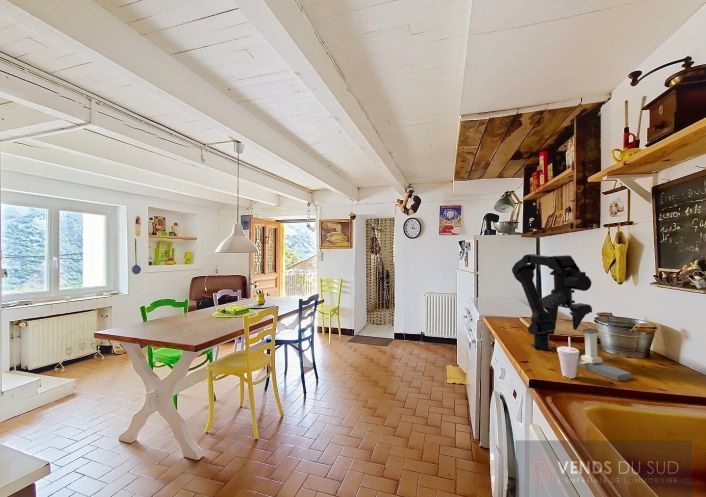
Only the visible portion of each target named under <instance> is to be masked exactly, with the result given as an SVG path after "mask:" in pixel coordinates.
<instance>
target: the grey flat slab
mask: <svg viewBox="0 0 706 497" xmlns="http://www.w3.org/2000/svg"><path fill="white" fill-rule="evenodd" d="M580 366H581V367H580ZM577 367H580V368H583V367H584V368H583V369H585V368H586V370H587V371H590V370H591V371H590V372H594V373H595V372H596V374H598V375H600V374H601V375H600V376H603V377H605V376H607V377H610V378H612V379H615V380H623V379H628V380H631V379H632V373H631V372H629V371H628V370H627V371H626V370H624V369H621V368H618V367H616V366H613V365H612V364H611V365H610V364H608V363H606V362H604V360H603V359H602V362H600V363H594V364H591V363H589V362H586V361H583V360H582V358H581V359H578V362H577ZM607 377H606V378H607ZM610 378H609V379H610ZM630 378H631V379H630ZM612 379H611V380H612ZM615 380H614V381H615ZM623 381H624V380H623Z"/></svg>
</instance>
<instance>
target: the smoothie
mask: <svg viewBox="0 0 706 497" xmlns="http://www.w3.org/2000/svg"><path fill="white" fill-rule="evenodd" d="M567 340H568V346H562V345H561V346H557V347H556V352H557V354H558V359H559V364H560V370H561V375H563V376H566V377H569V378H575V377H577V369H578V365H577V362H578V360H579V355H580V350H579V349H577V348H575V347H571V336H568V339H567ZM563 376H562V377H563Z"/></svg>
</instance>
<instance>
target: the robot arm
mask: <svg viewBox="0 0 706 497" xmlns="http://www.w3.org/2000/svg"><path fill="white" fill-rule="evenodd" d="M537 265H540V266H545V267H548V269H551V270H552V271H550V273H549V275H550V276H553V289H551V291H550V292H551V293H549V294H547V295H546V296H543V297H540V295H539V293H538V290H537V288H536V285H535V281H534V277H535V272H534V271H535V270H536V269H537ZM511 272H512V274H513V277H514V278H515V280H517V281H518V282H519V283H520V284H521V286H522V289H523V292H524V294H525V297H526V300H527V302H528V306H529V308H530V310H531V312H532V314H531V317H530V321H531V323H530V325H529V326H528V327H527V331H528V334H530V335H533V343H531V344H530V346H532V347H533V349H534V350H539V351H553V348H552V347H551V346H550V335H551V336H552V335H554V334H555V330H556V327H557V325H556V324H557V320H558V319H557V318H558V313H559V312H558V311H559V307H561V308H565V309H568V310H569V311H570V312H569V314H570V315H571V317H572V318H571V319H572V320H571V321H572V327H573V328H572V329H573V330H574V331H577V330H578V328H579V326H580V325H581V323H582V321H583V319H584V318H585V317H586V315H589V314H590V313H591V314H592V313H593V307H592V305H591V304H587V303H582V302H579V303H576V301H575V300H573V294H574V293H575V290H576V291H582V292H586V291H588V290H590V289H591V287H592V280H591V278H590V277H589V276H588V275H586V271H581V270H580V267H579V266H578V265H577V263H576V261H575V260H574V258H573V257H572V255H568V254H567V255H566V254H565V255H552V256H548V255H541V254H536V253H534V254H533V253H532V254H531V253H529V254H524V255H523V256H522V258H521V259H519V260H518V261H516V262H515V263H514V264H513V266H512V268H511Z"/></svg>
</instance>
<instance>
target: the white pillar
mask: <svg viewBox="0 0 706 497" xmlns="http://www.w3.org/2000/svg"><path fill="white" fill-rule="evenodd" d="M582 333H584V349H585V350H584V351H585V353H584V354H583V355H582V354H581V356H580V357H581V359H582V360H583V361H586V362H589V363H591V364H594V363H600V362H602V363H603V361H602V360H603V358H602V357H600V356H598V338H597V336H598V333H599V329H597V328H592V327H588V328H584V329H582Z"/></svg>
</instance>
